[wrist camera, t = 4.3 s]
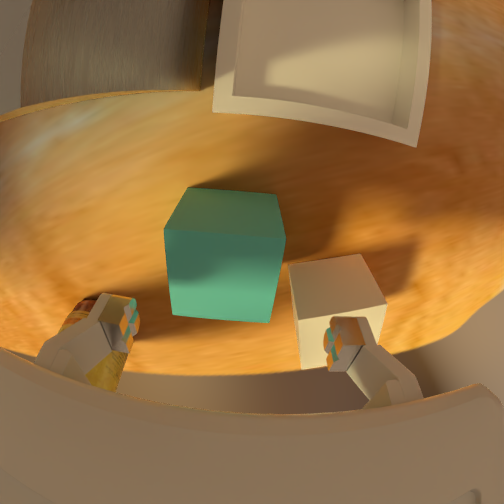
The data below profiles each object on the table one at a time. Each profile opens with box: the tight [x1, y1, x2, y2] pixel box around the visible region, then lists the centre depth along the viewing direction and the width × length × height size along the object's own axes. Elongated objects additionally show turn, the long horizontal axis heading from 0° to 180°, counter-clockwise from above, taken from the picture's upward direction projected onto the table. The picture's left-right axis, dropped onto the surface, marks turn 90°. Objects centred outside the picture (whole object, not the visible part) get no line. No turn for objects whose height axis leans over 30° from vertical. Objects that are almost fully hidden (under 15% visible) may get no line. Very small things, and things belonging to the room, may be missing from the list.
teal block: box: [164, 188, 286, 323], centre depth 14 cm, size 5×5×5 cm
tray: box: [212, 0, 432, 148], centre depth 9 cm, size 10×10×2 cm
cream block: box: [288, 253, 387, 370], centre depth 17 cm, size 5×5×5 cm
